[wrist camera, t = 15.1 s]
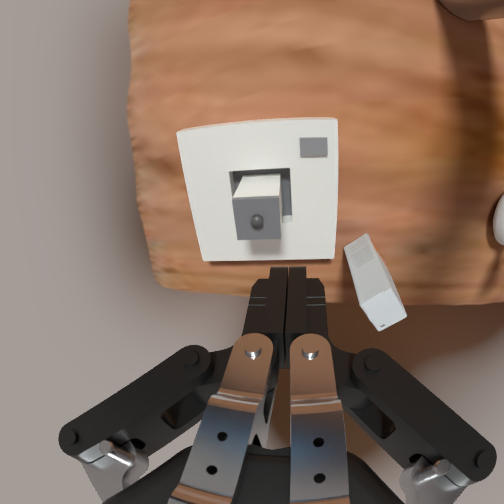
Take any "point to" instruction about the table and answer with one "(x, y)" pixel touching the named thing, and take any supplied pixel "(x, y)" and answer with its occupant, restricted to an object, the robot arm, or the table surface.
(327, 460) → the robot arm
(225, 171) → the socket plate
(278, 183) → the plug
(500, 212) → the flower in vase
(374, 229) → the table surface
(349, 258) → the skincare box
